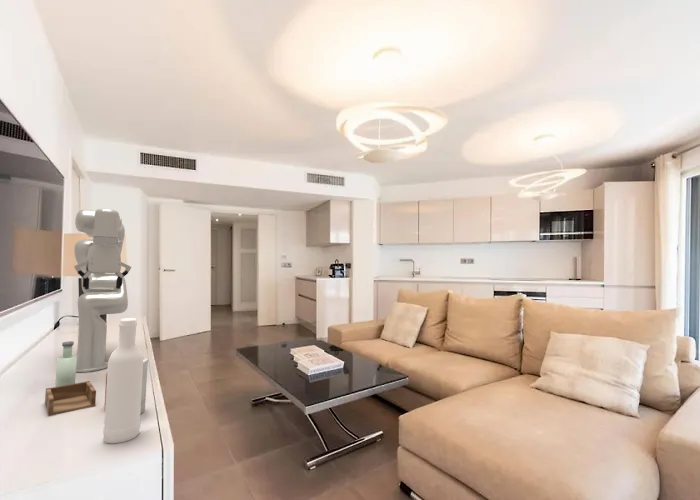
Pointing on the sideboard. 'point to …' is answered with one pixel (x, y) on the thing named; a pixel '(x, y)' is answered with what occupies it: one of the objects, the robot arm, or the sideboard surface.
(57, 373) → the bottle
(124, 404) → the bottle
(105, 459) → the sideboard surface
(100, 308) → the robot arm
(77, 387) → the u rest
